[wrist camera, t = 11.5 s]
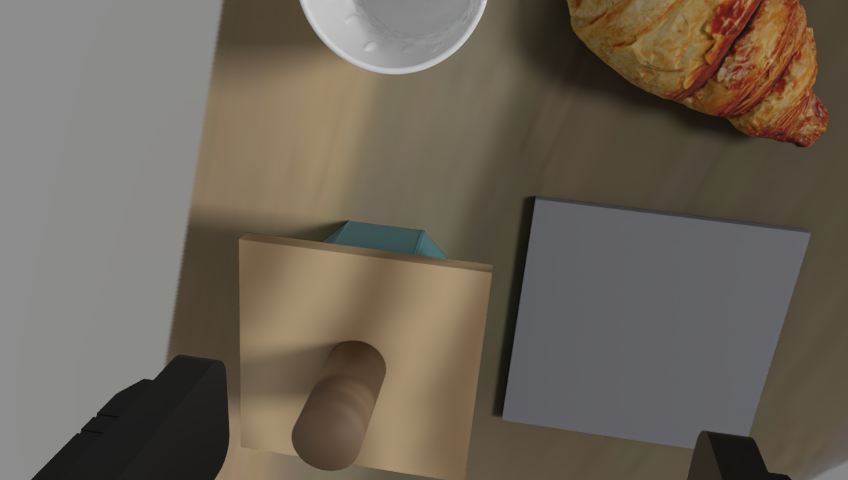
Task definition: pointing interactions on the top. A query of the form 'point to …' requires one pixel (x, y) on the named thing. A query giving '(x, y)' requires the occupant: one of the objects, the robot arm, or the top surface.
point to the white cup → (393, 30)
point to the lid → (359, 354)
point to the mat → (647, 321)
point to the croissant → (714, 58)
